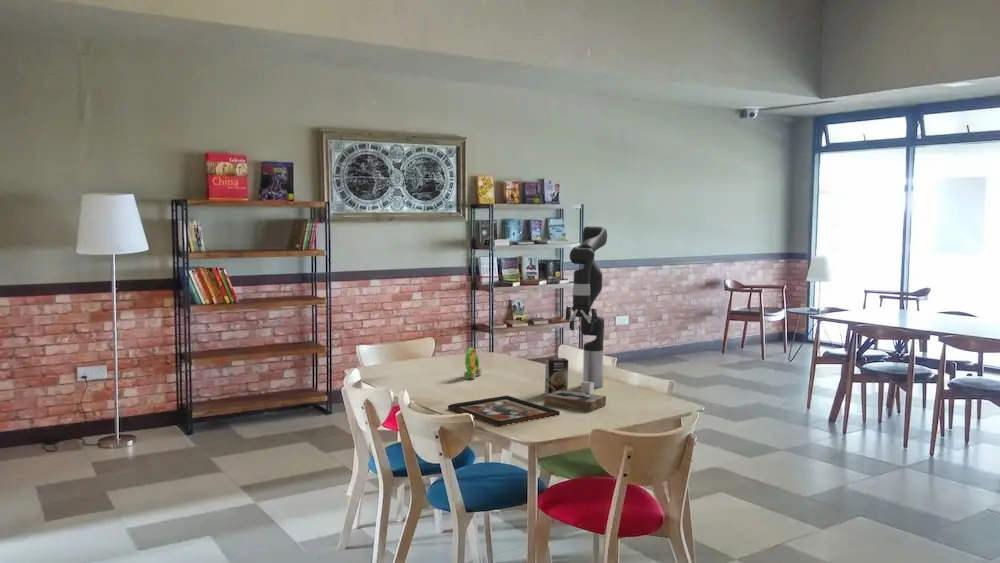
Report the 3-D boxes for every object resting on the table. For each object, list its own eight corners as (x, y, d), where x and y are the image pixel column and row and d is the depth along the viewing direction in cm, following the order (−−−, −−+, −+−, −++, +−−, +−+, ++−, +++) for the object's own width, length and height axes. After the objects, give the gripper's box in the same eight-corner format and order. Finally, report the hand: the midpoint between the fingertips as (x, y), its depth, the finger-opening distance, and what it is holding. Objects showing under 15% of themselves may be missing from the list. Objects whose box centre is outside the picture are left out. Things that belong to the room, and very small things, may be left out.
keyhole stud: (585, 402, 344) (585, 380, 343) (594, 404, 342) (594, 382, 341) (580, 404, 340) (580, 382, 340) (589, 406, 338) (589, 383, 337)
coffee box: (548, 396, 361) (548, 360, 360) (544, 393, 368) (545, 357, 366) (568, 395, 363) (568, 359, 362) (564, 392, 369) (564, 357, 368)
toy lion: (471, 374, 410) (472, 344, 409) (482, 375, 409) (482, 345, 408) (461, 380, 395) (462, 349, 394) (472, 381, 394) (472, 350, 392)
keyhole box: (560, 398, 356) (560, 389, 356) (605, 405, 344) (605, 396, 344) (544, 404, 345) (544, 395, 344) (590, 411, 332) (590, 402, 332)
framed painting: (439, 411, 332) (440, 404, 332) (501, 399, 357) (501, 393, 357) (504, 430, 305) (505, 422, 305) (566, 416, 330) (566, 409, 329)
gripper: (600, 294, 352) (599, 331, 353) (571, 292, 360) (570, 328, 361) (592, 295, 346) (591, 333, 347) (563, 293, 354) (562, 330, 355)
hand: (580, 330), depth 354 cm, fingers open, 8 cm apart
